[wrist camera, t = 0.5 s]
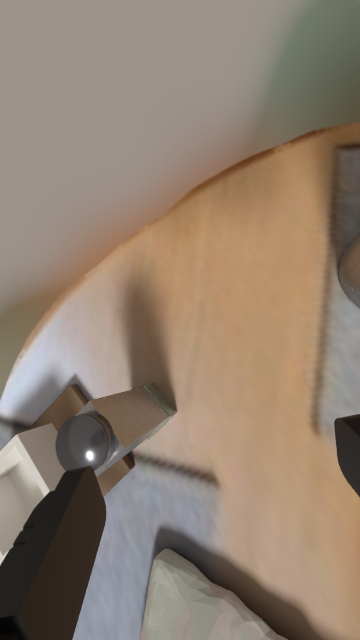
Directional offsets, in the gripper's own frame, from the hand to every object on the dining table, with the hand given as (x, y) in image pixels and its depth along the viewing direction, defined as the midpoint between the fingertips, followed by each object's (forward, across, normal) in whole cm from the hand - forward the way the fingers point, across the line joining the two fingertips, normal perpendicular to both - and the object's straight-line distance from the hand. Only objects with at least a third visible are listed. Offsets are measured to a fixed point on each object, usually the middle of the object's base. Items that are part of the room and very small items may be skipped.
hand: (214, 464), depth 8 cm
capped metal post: (+19, +6, +8) cm, 21 cm away
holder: (+18, +20, +14) cm, 30 cm away
